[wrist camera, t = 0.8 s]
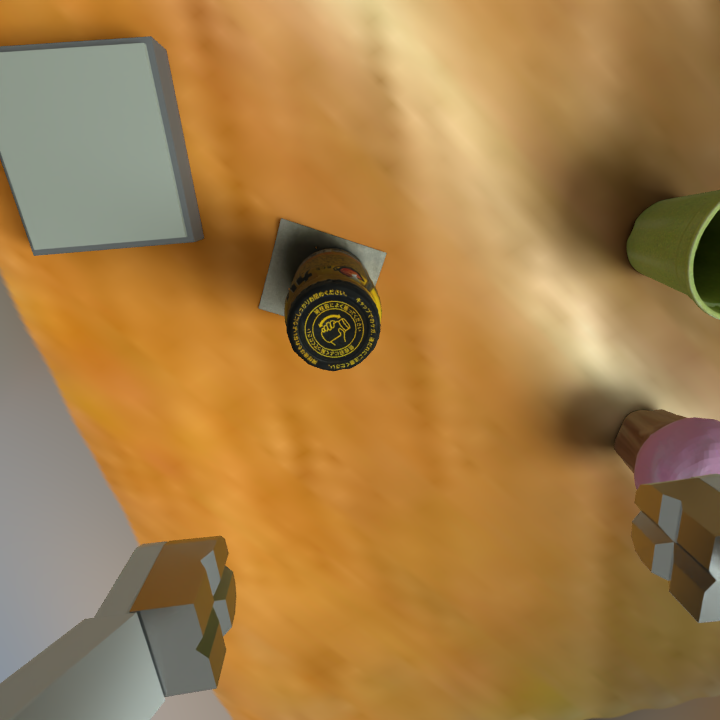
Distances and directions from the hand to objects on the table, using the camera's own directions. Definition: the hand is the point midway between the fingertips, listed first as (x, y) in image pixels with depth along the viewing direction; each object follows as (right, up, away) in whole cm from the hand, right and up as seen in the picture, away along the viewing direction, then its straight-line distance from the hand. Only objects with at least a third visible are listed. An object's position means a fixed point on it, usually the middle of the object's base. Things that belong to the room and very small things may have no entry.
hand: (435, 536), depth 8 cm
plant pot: (+23, +14, +27) cm, 38 cm away
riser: (-19, +18, +22) cm, 34 cm away
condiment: (-5, +10, +26) cm, 28 cm away
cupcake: (+26, -3, +33) cm, 42 cm away
